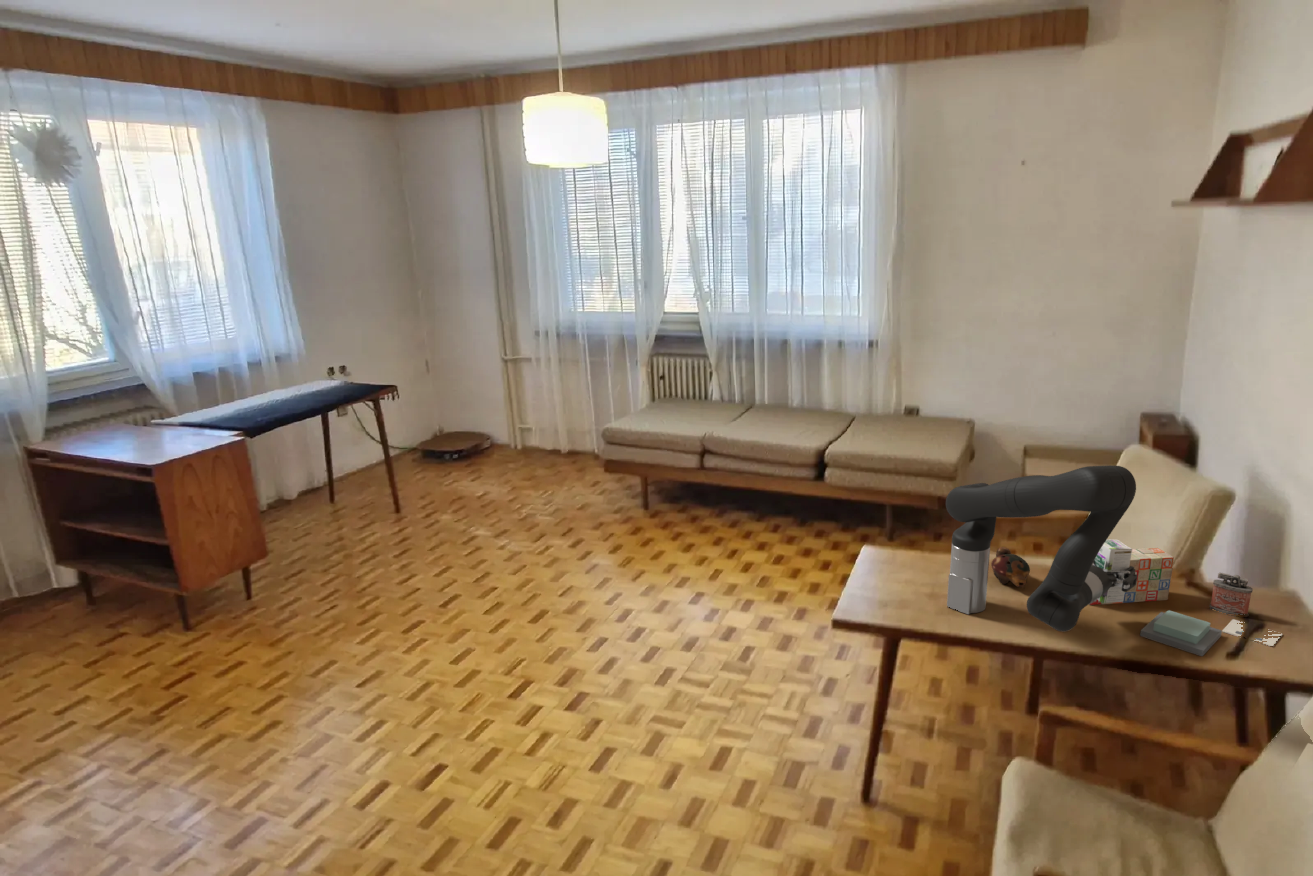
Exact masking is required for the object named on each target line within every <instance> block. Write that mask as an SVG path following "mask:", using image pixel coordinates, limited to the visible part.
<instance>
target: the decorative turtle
mask: <svg viewBox="0 0 1313 876" xmlns="http://www.w3.org/2000/svg"><path fill="white" fill-rule="evenodd" d="M991 569H992V571H993V575H994V576H995V577H996V578H997V577H998V578H997V580H998V582H999V583H1000V584H1001V583H1002V584H1001V585H1006V584H1008V582H1011V583H1012V584H1013V585H1014V586H1016V587H1017V588H1024V587H1025V586H1026V584H1027V578H1028V576H1030V575H1029V574H1030V573H1031V568H1030V565H1029V563H1028V562H1027V561H1026V560H1025V559H1024V558H1022V557H1021V556H1020V555H1016V554H1015V553H1012V552H1011V550H1010V549H1009V548H1008V547H1005V546H999V548H997V549H996V553H995V557H994V558H993V559H992V560H991Z"/></svg>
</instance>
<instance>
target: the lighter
mask: <svg viewBox="0 0 1313 876" xmlns="http://www.w3.org/2000/svg"><path fill="white" fill-rule="evenodd" d="M1248 582H1249V579H1248V578H1243V577H1240V575H1238V574H1234V575H1230V574H1228V573H1224V572H1219V573H1217V579H1214V580H1213V584H1212V585H1213V588H1212V593H1211V594H1212V595H1211V600H1210V601H1211V602H1210V603H1209V607H1210V608H1209V610H1211V609H1214V610H1216V611H1219V612H1218V613H1220V612H1222V613H1221V614H1223V613H1226V614H1225V615H1227V614H1234V615H1235V614H1236V615H1238V614H1240V615H1243V614H1244V615H1245V614H1248V615H1249V608H1250V602H1251V596H1252V593H1253V590H1254V588H1253V587H1251V586H1249V585H1248V584H1249V583H1248ZM1216 611H1215V612H1216Z"/></svg>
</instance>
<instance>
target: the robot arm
mask: <svg viewBox="0 0 1313 876" xmlns="http://www.w3.org/2000/svg"><path fill="white" fill-rule="evenodd" d="M1136 491H1137V483H1136V479H1135V477H1134V475H1133V474H1132V472H1131V471H1130V470H1129V469H1128V468H1126V467H1124V466H1121V465H1089V466H1082V467H1080V468H1079V467H1078V468H1076V469H1072V470H1069V471H1066V472H1063V473H1058V474H1056V475H1043V474H1041V475H1040V474H1039V475H1038V474H1037V475H1026V476H1017V477H1014V478H1010V479H1005V480H1001V481H998V482H995V483H992V484H991V483H990V484H988V483H986V482H978V483H973V484H966V485H960V486H959V485H958V486H957V487H954V488H953V489H951V490H950V491H949V493H947V496H946V498H945V508H946V511H947V513H948V514H949V516H950V517H952V518H953V519H954V520H956V521H957V522H960V523H963V524H962V525H961V526H959V527H958V528H957V529H955V530H954V531H953V533H952V536H951V551H950V566H949V574H948V581H947V583H948V584H947V598H946V599H947V600H946V607H947V606H948V607H947V608H949V607H950V608H949V609H952V610H955V609H956V611H957V610H958V612H960V613H962V614H963V613H964V614H966V615H971V614H976V613H981V612H983V611H985V610H986V607H987V606H986V605H987V595H988V593H987V592H988V579H989V568H990V567H989V566H990V554H991V544H992V543H991V542H992V540H993V538H994V535H995V531H996V524H997V518H1009V519H1010V518H1011V519H1012V518H1032V517H1034V518H1035V517H1040V516H1046V515H1048V514H1051V513H1052V512H1055V511H1059V510H1060V511H1079V512H1087V513H1088V512H1089V514H1088V515H1087V517H1086V519H1085V520H1084V521H1083V522H1082V523H1081V525H1080V526H1079V527H1078V528H1077V529H1076V530H1075V531H1074V532H1073V533H1072V534H1071V535H1070V536H1069V537H1068V538H1067V539H1066V540H1065V541H1064V542H1063V543H1062V545H1060V546H1059V548H1058V550H1057V552H1056V554H1055V556H1054V559H1053V561H1052V564H1051V565H1050V569H1049V570H1048V573H1047V574H1046V576H1045V578H1044V580H1043V581H1041V583H1040V585H1038V587H1036V589H1035V590H1034V591H1033V592H1032V593H1031V594H1030V596H1029V597H1028V598H1027V600H1026V610H1027V612H1028V613H1029V614H1030V615H1031V616H1032V617H1034V618H1035V619H1036V620H1038V621H1041V622H1042V623H1044V624H1046V625H1047V626H1049V627H1050V628H1052V629H1053V630H1056V631H1058V632H1063V633H1064V632H1069V631H1071V630H1072V629H1074V628H1075V626H1076V624H1077V623H1078V620H1079V619H1080V618H1079V617H1080V614H1081V612H1082V611H1083V609H1085V608H1086V607H1087V606H1088V605H1089V604H1091V603H1093V602H1094V601H1096V600H1097V599H1098V598H1099V597H1101V596H1102V595H1103V594H1105V593H1106V592H1107V591H1108V590H1109V588H1110V587H1114V586H1118V587H1122V591H1124V592H1127V591H1129V590H1130V589H1131V588H1133V587H1134V586H1135V585H1136V582H1137V575H1136V574H1135V569H1134V567H1132V566H1130V567H1129V568H1127V569H1126V570H1125V571H1120V570H1118V569H1116V570H1108V569H1102V568H1100V567H1097V566H1095V565H1094V560H1095V558H1096V556H1097V554H1098V552H1099V550H1100V549H1101V547H1102V546H1103V544H1104V543H1105V541H1106V540H1107V539H1108V538H1109V536H1110V535H1111V534H1112V532H1113V531H1114V530H1115V528H1116V526H1117V524H1118V523H1119V522H1120V520H1121V519H1122V518H1123V516H1124V515H1125V514H1126V512H1127V510H1128V509H1129V508H1130V506H1131V504H1132V503H1133V501H1134V498H1135V497H1136ZM1114 574H1115V576H1114ZM1122 575H1124V578H1121V576H1122Z"/></svg>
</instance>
